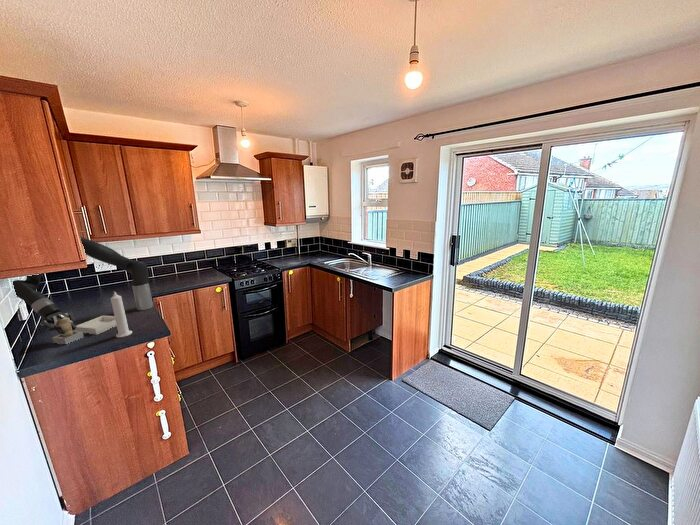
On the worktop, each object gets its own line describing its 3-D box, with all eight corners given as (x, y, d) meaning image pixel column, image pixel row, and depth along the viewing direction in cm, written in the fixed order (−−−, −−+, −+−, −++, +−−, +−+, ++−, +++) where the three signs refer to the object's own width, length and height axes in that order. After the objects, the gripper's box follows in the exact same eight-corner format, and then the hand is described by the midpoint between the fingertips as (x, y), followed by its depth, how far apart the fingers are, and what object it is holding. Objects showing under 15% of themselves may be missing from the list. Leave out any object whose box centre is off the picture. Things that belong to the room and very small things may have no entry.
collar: (72, 336, 156) (70, 330, 156) (83, 337, 155) (82, 331, 154) (53, 343, 148) (52, 337, 148) (66, 344, 147) (64, 338, 146)
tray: (104, 320, 176) (102, 315, 175) (124, 322, 173) (123, 316, 172) (74, 332, 161) (73, 326, 160) (96, 334, 157) (95, 328, 157)
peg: (66, 339, 153) (60, 318, 150) (76, 337, 154) (70, 317, 152) (61, 343, 149) (55, 322, 146) (72, 341, 150) (66, 320, 148)
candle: (135, 331, 160) (126, 289, 154) (126, 337, 153) (116, 293, 147) (122, 331, 160) (112, 289, 154) (112, 337, 153) (102, 294, 147)
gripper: (31, 309, 142) (56, 333, 142) (64, 299, 155) (87, 321, 156) (26, 318, 144) (50, 341, 144) (59, 308, 158) (81, 329, 158)
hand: (69, 330), depth 150 cm, fingers closed on peg, 4 cm apart
